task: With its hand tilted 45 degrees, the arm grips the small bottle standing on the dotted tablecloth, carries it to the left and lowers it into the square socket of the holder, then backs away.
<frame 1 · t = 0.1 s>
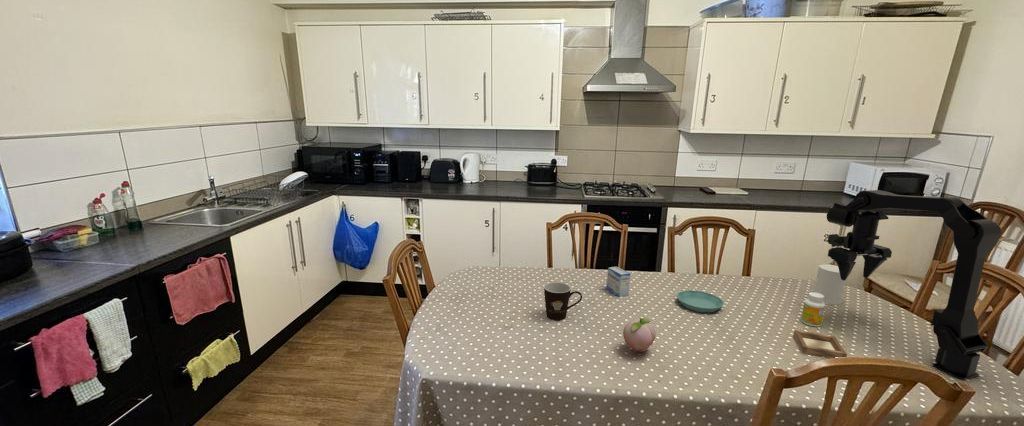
hand: (854, 278, 133), 15 cm above the table, tool pointing down, fingers open, 9 cm apart
medicine box: (617, 292, 156), on the table
decorative fruit: (636, 351, 118), on the table
holder: (818, 347, 120), on the table
coffee mug: (560, 317, 137), on the table
saucer: (699, 306, 146), on the table
supplement bottle: (810, 323, 135), on the table
cup: (826, 300, 152), on the table
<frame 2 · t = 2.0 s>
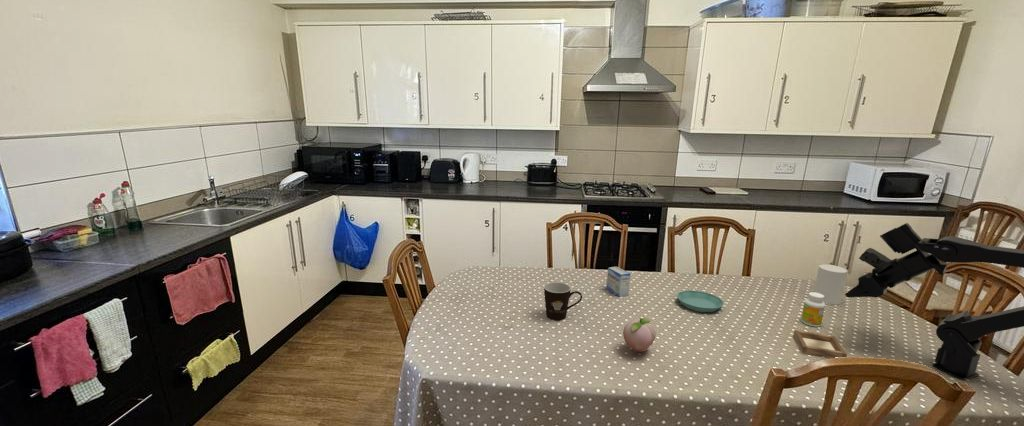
hand: (851, 292, 126), 13 cm above the table, tool tilted 45°, fingers open, 9 cm apart
nothing on the table moved.
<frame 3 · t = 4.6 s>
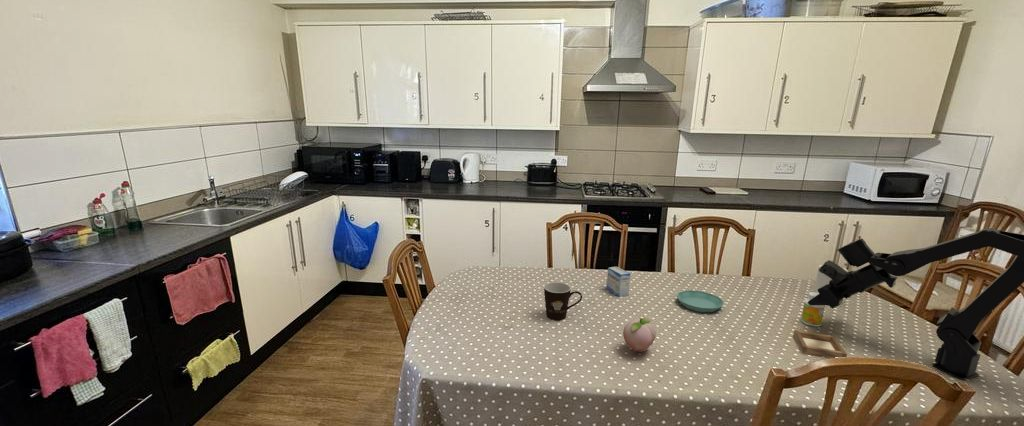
hand: (811, 301, 134), 7 cm above the table, tool tilted 45°, fingers closed on supplement bottle, 5 cm apart
supplement bottle: (810, 323, 135), on the table, touching gripper
everything else where it was.
when the fingers open (8 cm above the table, at t = 8.2 s): supplement bottle stays where it is, resting on holder.
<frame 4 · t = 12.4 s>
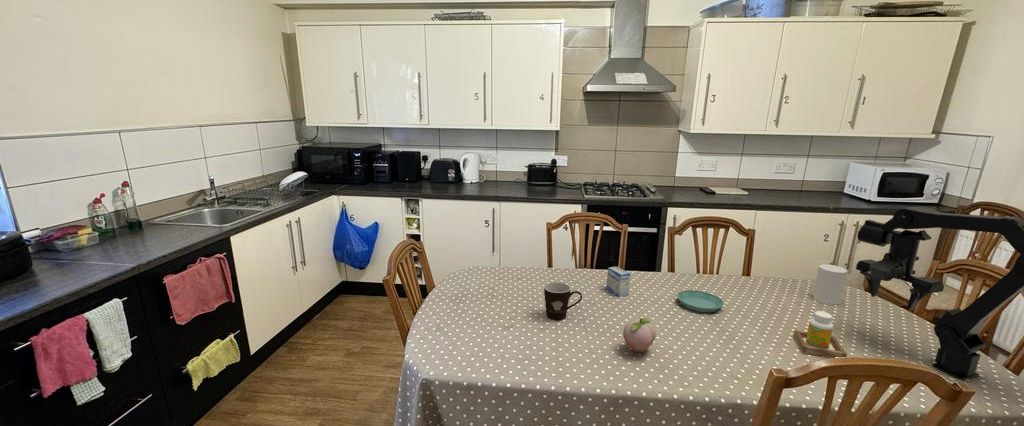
hand: (890, 303, 122), 12 cm above the table, tool pointing down, fingers open, 9 cm apart
supplement bottle: (816, 346, 120), resting on holder
everything else where it was.
at the end: supplement bottle 0.4 cm from the holder (horizontally); supplement bottle tilted 0°; the gripper is holding nothing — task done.
